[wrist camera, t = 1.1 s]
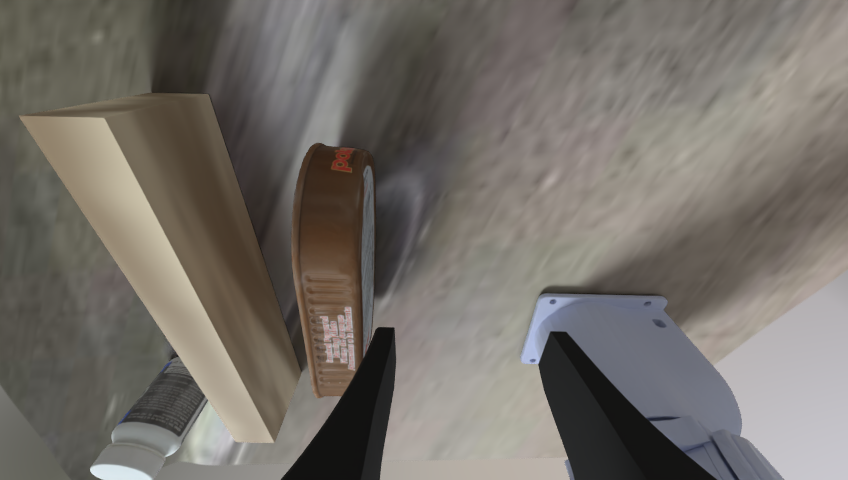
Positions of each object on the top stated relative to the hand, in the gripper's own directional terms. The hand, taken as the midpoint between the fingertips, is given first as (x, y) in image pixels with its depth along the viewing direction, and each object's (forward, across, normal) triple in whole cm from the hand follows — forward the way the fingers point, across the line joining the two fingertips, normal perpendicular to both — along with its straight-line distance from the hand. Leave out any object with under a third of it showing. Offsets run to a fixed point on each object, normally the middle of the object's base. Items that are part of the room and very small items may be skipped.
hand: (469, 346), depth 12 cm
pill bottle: (+10, +23, +16) cm, 30 cm away
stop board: (+9, +15, +4) cm, 18 cm away
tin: (+10, +6, +2) cm, 12 cm away
